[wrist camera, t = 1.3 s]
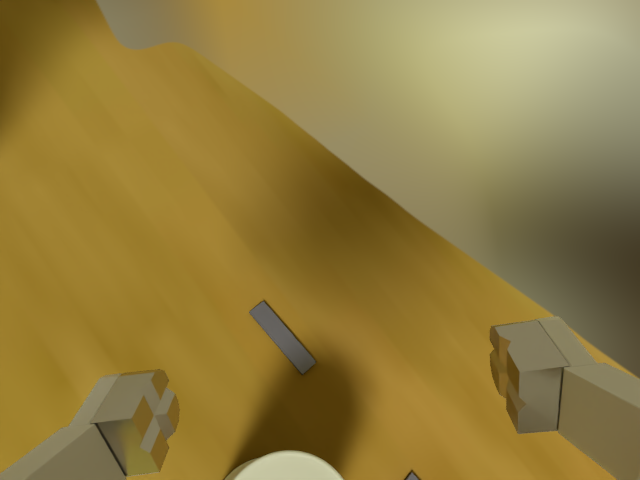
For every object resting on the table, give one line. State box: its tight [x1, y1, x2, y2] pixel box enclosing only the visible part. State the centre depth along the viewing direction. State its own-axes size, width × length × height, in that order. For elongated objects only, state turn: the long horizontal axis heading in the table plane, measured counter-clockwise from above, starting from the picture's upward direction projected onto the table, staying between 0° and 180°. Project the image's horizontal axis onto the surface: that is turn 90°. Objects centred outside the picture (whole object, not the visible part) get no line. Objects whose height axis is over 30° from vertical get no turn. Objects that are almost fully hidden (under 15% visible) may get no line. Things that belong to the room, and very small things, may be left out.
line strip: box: [249, 301, 316, 375], centre depth 43 cm, size 8×2×1 cm, turn 44°
